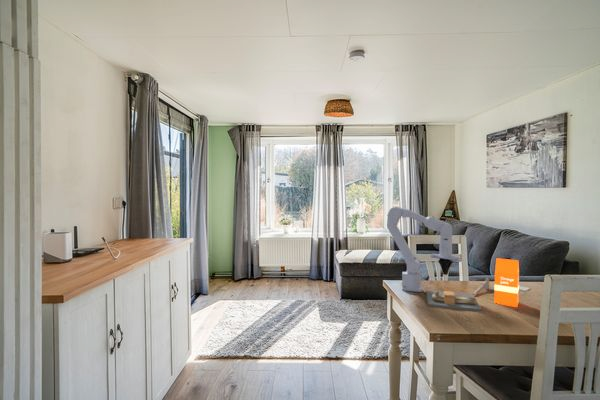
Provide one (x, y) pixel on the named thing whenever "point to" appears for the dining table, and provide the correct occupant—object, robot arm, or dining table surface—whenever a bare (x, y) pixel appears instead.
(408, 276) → the robot arm
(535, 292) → the dining table surface
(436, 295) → the link
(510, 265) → the orange juice
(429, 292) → the keeper board
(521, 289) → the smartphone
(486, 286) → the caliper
